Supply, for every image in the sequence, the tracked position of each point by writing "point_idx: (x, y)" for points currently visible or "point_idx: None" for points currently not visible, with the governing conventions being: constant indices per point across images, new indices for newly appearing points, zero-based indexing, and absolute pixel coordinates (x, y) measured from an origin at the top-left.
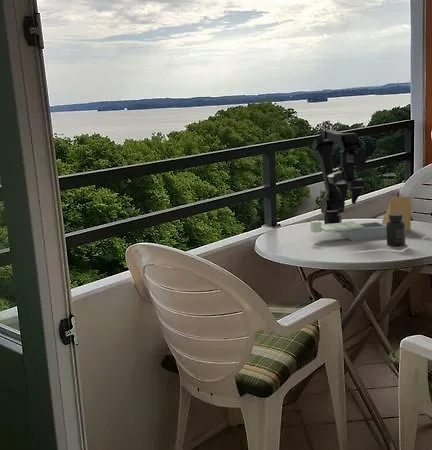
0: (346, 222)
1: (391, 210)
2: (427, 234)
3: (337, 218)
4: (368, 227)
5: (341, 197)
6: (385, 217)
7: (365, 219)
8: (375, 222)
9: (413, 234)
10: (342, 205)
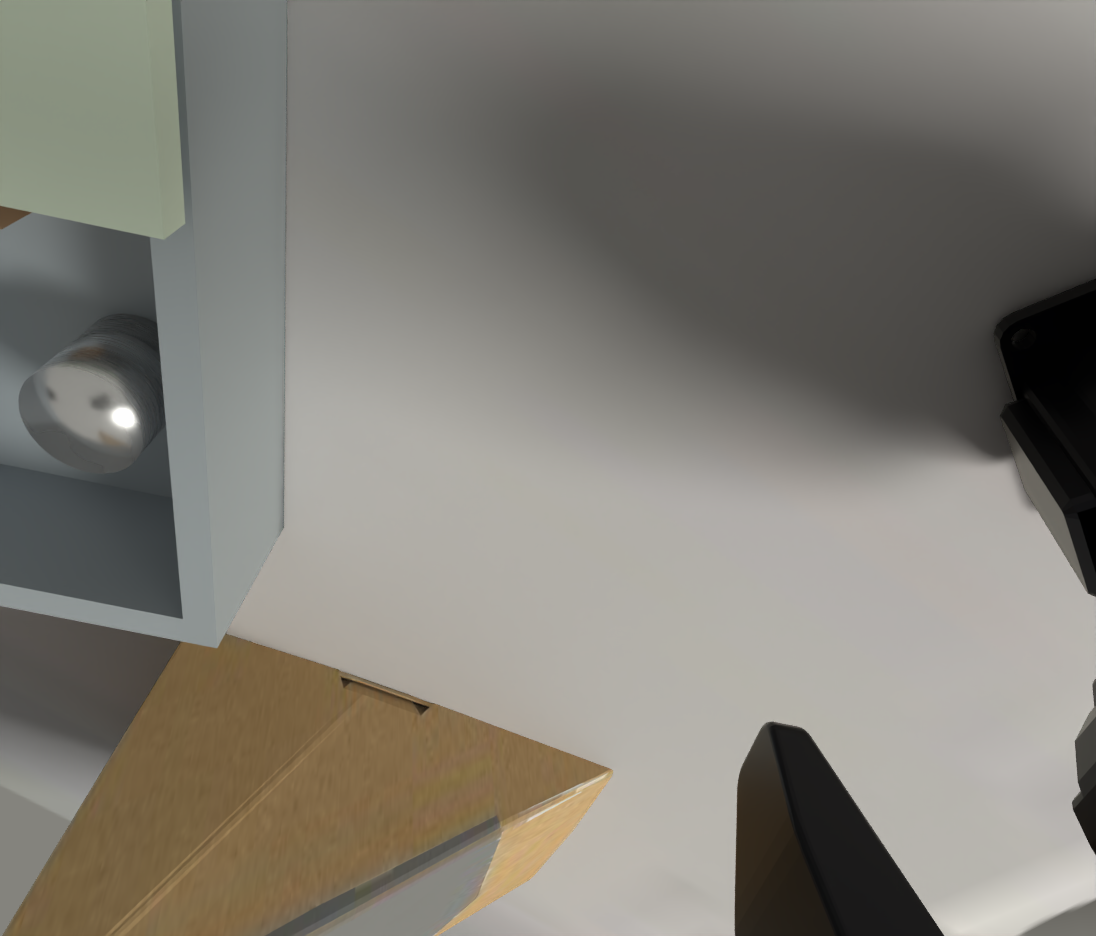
0: (113, 56)
1: (17, 917)
2: (10, 789)
3: (1084, 476)
4: (119, 427)
5: (840, 830)
6: (369, 844)
7: (1061, 891)
8: (181, 612)
9: (54, 725)
10: (1090, 759)
